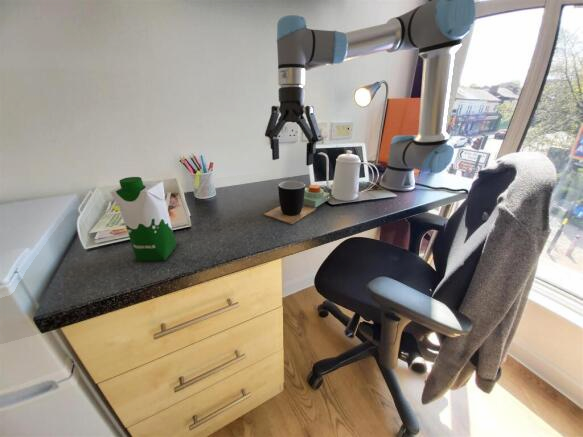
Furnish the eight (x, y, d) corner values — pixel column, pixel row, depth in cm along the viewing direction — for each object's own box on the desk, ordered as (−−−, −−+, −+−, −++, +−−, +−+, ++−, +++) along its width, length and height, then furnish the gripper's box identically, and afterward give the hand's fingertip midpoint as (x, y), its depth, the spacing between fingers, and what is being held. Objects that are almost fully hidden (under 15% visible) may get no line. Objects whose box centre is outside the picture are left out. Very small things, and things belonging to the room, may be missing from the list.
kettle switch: (322, 191, 92) (322, 186, 91) (316, 194, 89) (316, 188, 88) (312, 188, 94) (312, 183, 94) (306, 191, 91) (306, 186, 90)
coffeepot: (320, 188, 108) (322, 145, 100) (376, 197, 97) (384, 151, 89) (310, 195, 99) (312, 149, 91) (371, 206, 89) (379, 156, 81)
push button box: (329, 199, 95) (330, 188, 93) (315, 208, 87) (315, 196, 85) (300, 192, 103) (301, 182, 101) (285, 199, 95) (285, 189, 93)
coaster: (316, 209, 86) (316, 208, 86) (291, 224, 75) (291, 223, 75) (289, 202, 92) (289, 201, 92) (263, 214, 82) (263, 213, 81)
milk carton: (130, 263, 56) (101, 182, 48) (149, 243, 64) (127, 171, 56) (167, 262, 57) (145, 182, 48) (182, 242, 65) (165, 171, 56)
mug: (308, 215, 81) (309, 186, 76) (284, 219, 77) (284, 190, 73) (294, 203, 91) (294, 177, 86) (272, 206, 87) (271, 180, 83)
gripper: (250, 88, 71) (256, 159, 80) (323, 84, 58) (319, 169, 67) (267, 89, 76) (270, 155, 86) (337, 85, 63) (331, 164, 72)
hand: (291, 161), depth 76 cm, fingers open, 13 cm apart
